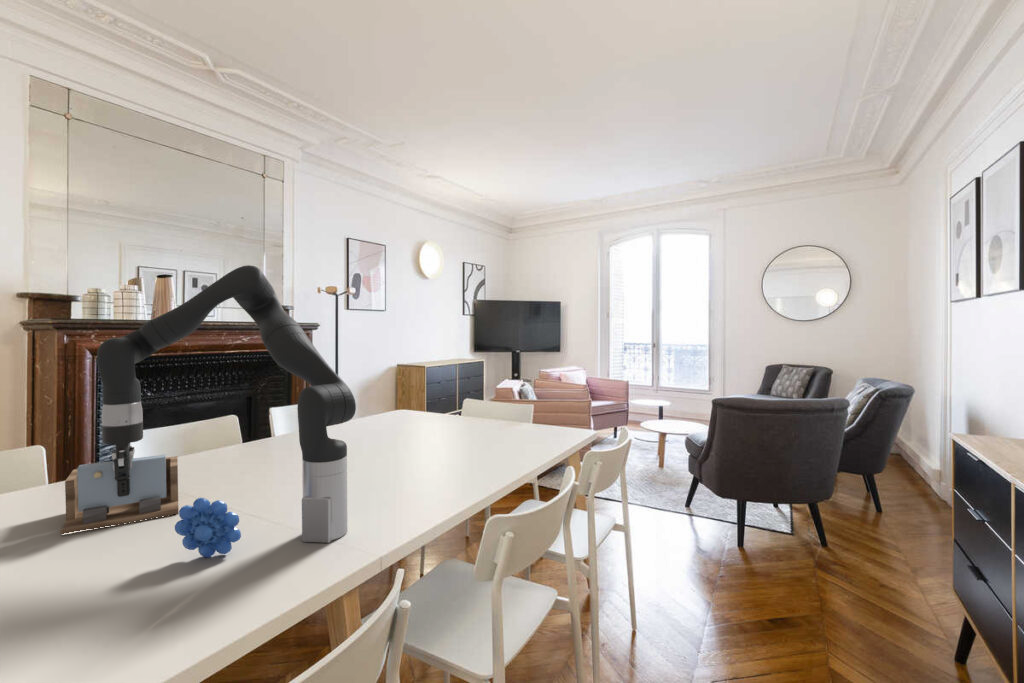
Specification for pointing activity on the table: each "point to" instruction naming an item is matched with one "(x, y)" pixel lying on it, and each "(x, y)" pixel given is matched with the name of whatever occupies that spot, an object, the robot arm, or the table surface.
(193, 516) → the blue flower
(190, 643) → the table surface
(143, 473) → the door
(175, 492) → the cabinet
